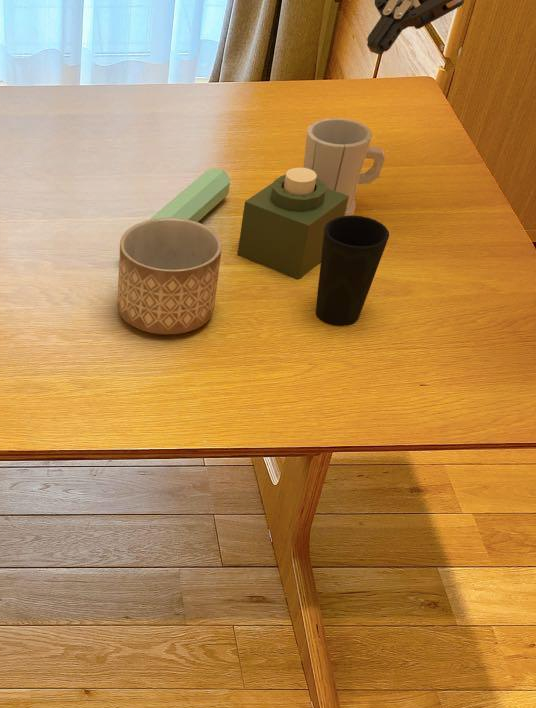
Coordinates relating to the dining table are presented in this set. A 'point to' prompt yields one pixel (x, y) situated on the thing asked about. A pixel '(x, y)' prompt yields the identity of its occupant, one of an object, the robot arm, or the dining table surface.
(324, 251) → the cup
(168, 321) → the planter
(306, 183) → the cream push button
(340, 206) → the green push button box
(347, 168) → the cup
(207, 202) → the pale green long bar
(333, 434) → the dining table surface
